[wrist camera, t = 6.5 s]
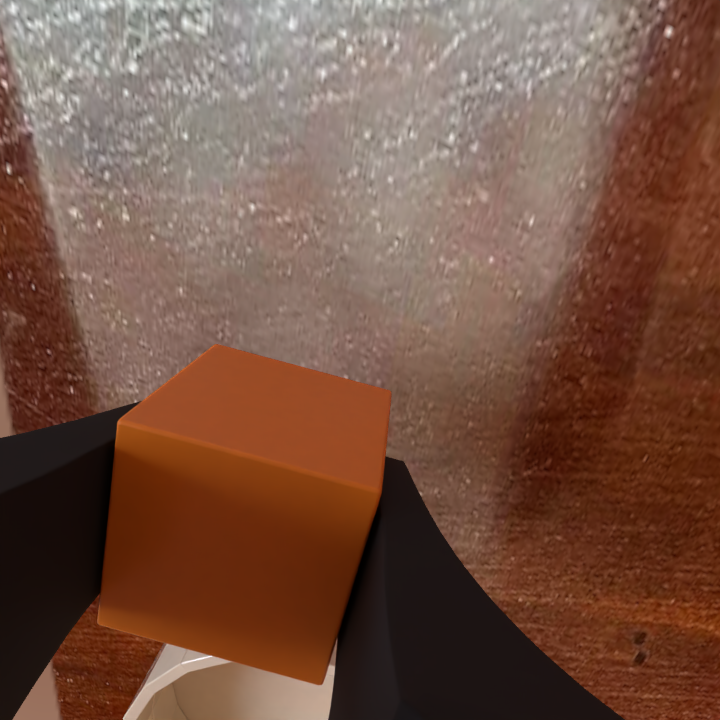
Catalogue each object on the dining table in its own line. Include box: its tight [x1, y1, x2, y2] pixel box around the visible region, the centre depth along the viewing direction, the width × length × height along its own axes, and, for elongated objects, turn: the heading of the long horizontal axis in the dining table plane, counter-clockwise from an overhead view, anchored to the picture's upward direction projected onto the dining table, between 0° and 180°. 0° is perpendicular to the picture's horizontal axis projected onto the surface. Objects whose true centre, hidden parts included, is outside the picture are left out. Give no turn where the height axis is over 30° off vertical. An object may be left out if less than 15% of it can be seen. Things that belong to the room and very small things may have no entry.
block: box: [97, 344, 392, 686], centre depth 10 cm, size 4×4×4 cm
